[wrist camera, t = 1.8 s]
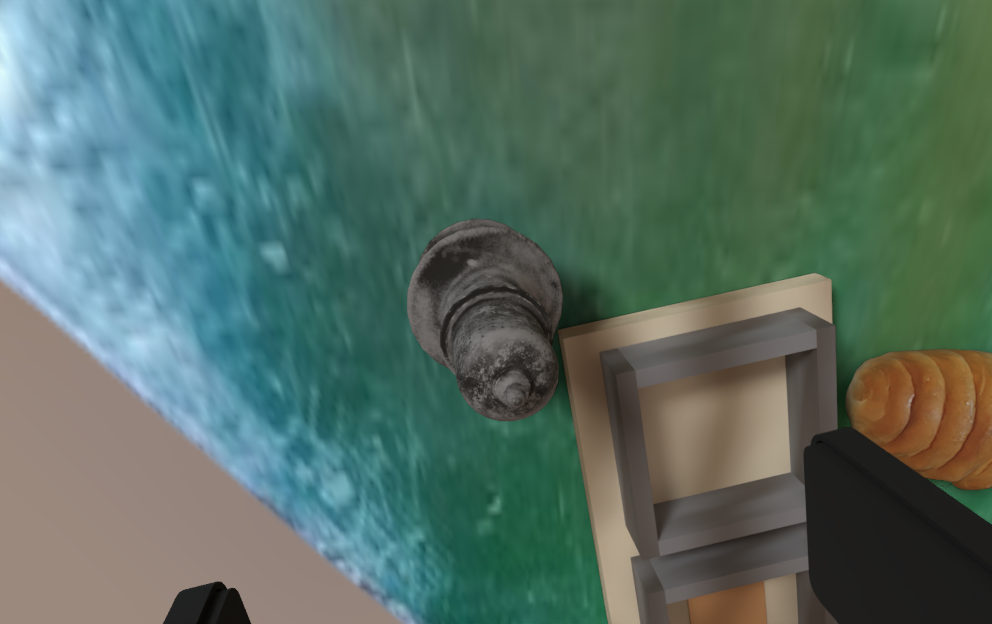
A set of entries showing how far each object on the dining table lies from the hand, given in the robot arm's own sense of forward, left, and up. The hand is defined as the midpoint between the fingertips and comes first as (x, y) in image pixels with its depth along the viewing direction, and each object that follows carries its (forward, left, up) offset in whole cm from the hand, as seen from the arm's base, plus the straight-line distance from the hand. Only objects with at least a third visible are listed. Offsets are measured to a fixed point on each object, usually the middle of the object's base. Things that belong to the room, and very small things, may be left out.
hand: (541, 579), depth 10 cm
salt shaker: (-1, 0, -18) cm, 18 cm away
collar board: (-9, +14, -18) cm, 25 cm away
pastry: (-21, +11, -18) cm, 30 cm away
